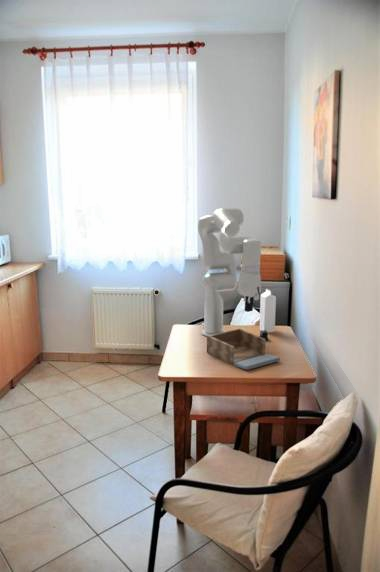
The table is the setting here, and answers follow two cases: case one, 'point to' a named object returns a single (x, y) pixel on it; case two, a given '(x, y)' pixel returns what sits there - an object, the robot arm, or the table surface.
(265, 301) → the milk
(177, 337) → the table surface
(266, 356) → the panel
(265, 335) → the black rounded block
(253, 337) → the crate
